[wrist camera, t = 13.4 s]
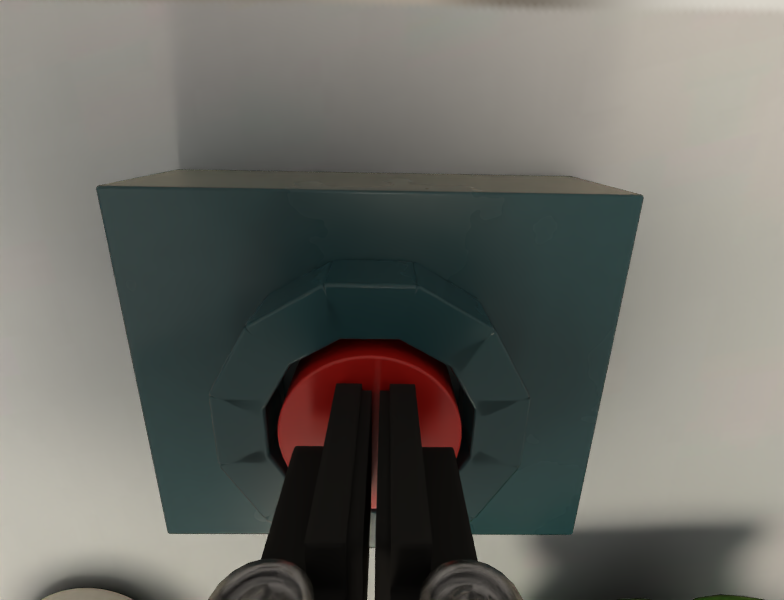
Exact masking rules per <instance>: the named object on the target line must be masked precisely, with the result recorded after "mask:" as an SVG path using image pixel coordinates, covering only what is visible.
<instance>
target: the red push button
mask: <svg viewBox="0 0 784 600" xmlns="http://www.w3.org/2000/svg"><path fill="white" fill-rule="evenodd" d="M337 383H362V390H372V487H371V509H375V508H376V503H377V468H378V433H379V398H380V390H383V391H390V384H415V388H416V397H417V406H418V415H419V425H420V434H421V443H422V447H453V449H454V452H455V455H456V458H457V455H458V452H459V449H460V445H461V439H462V425H461V418H460V414H459V410H458V406H457V402H456V398H455V394H454V391H453V387H452V383H451V379H450V376H449V373H448V369H447V367H446V365H445V364H444V363H442V362H440V361H438V360H436V359H435V358H433V357H431V356H429V355H427V354H425V353H423V352H422V351H420V350H418V349H416V348H414V347H412V346H410V345H409V344H407V343H405V342H403V341H401V340H392V339H340V340H338V341H336V342H334V343H332V344H330V345H328V346H326V347H324V348H322V349H320V350H318V351H316V352H314V353H312V354H311V355H309V356H307V357H305V358H303V359H301V360H300V362H299V364H298V366H297V368H296V370H295V373H294V376H293V378H292V381H291V384H290V386H289V389H288V392H287V395H286V397H285V400H284V403H283V405H282V408H281V411H280V415H279V420H278V442H279V447H280V450H281V453H282V456H283V458H284V460H285V462H286V464H287V466H289V462H290V459H291V456H292V452H293V450H294V448H295V447H296V446H324V441H325V436H326V431H327V426H328V422H329V417H330V412H331V407H332V402H333V397H334V392H335V387H336V384H337Z"/></svg>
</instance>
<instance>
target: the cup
mask: <svg viewBox="0 0 784 600" xmlns="http://www.w3.org/2000/svg"><path fill="white" fill-rule="evenodd" d="M41 600H133V599H131V598H129V597H127V596H124V595H122V594H119V593H116V592H112V591H108V590H104V589H95V588H76V589H69V590H64V591H61V592H57V593H54V594H51V595H49V596H47V597H45V598H43V599H41Z"/></svg>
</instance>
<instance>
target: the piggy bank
mask: <svg viewBox="0 0 784 600" xmlns="http://www.w3.org/2000/svg"><path fill="white" fill-rule="evenodd" d="M618 600H650V599H644V598H631V599H618ZM693 600H763V599H758V598H752V597H746V596H734V595H722V594H720V595H713V596H705V597H698V598H695V599H693Z"/></svg>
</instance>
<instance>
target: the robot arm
mask: <svg viewBox="0 0 784 600" xmlns="http://www.w3.org/2000/svg"><path fill="white" fill-rule="evenodd" d="M371 487H372V390H362V383H337V384H336V387H335V392H334V397H333V402H332V407H331V412H330V417H329V422H328V426H327V431H326V436H325V441H324V446H296V447H295V448H294V450H293V452H292V456H291V459H290V462H289V466H288V469H287V473H286V476H285V479H284V483H283V486H282V490H281V493H280V496H279V500H278V503H277V507H276V510H275V514H274V517H273V520H272V524H271V527H270V531H269V534H268V537H267V541H266V544H265V548H264V551H263V554H262V558H261V560H258V561H254V562H250V563H247V564H246V565H244V566H242V567H240V568H238V569H236V570H234V571H233V572H232V573H230V574H229V575H228V576H227V577H226V578H225V579H224V580H223V581H221V582H220V583H219V585H218V586H217V587H216V589H215V590H214V592H213V593H212V594H211V596H210V597H209V599H208V600H367V591H368V568H369V544H370V521H371ZM375 600H523V599H522V597H521V595H520V594H519V592H518V590H517V589H516V587H515V586H514V584H513V583H512V582H511V581H510V580H509V579H508V578H507V577H506V576H505V575H504V574H503V573H502V572H500V571H498V570H496V569H495V568H493V567H491V566H490V565H488V564H485V563H482V562H478V561H477V556H476V551H475V546H474V541H473V537H472V532H471V527H470V522H469V517H468V513H467V508H466V503H465V498H464V494H463V489H462V484H461V479H460V474H459V470H458V465H457V460H456V455H455V452H454V449H453V447H422V443H421V434H420V425H419V415H418V406H417V397H416V388H415V384H390V391H383V390H380V398H379V433H378V468H377V503H376V542H375Z"/></svg>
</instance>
